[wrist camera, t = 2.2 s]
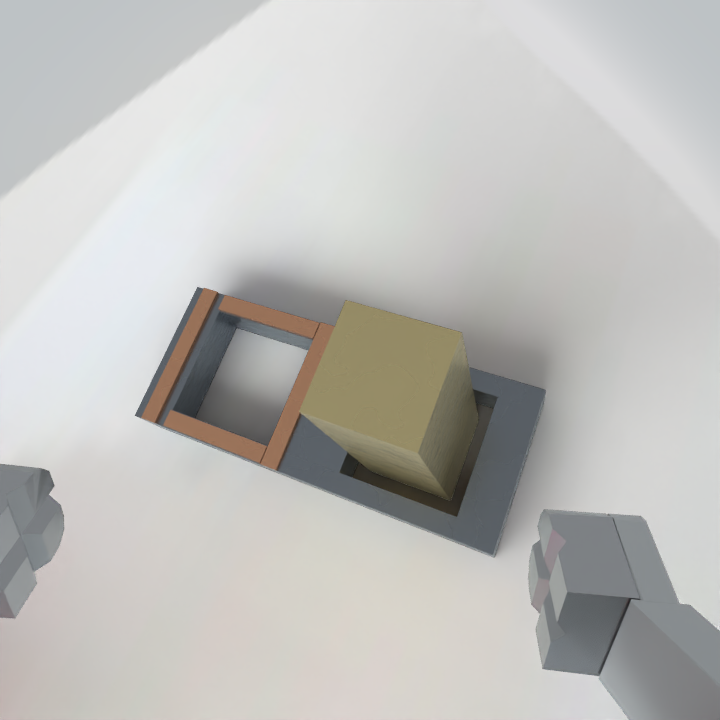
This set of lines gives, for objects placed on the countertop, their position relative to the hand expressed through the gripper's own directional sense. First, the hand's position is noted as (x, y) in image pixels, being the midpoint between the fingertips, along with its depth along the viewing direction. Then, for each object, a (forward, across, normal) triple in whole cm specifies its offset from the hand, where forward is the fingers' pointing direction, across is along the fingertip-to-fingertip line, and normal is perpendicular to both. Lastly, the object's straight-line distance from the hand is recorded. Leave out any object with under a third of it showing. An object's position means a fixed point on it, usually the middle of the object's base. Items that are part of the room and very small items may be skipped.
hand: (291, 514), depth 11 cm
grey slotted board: (+20, +1, +13) cm, 24 cm away
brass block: (+18, -3, +13) cm, 23 cm away
